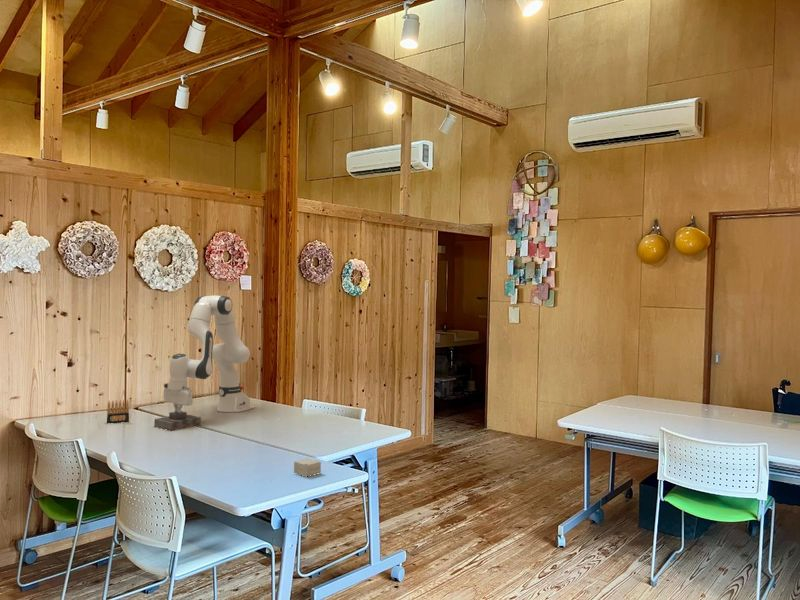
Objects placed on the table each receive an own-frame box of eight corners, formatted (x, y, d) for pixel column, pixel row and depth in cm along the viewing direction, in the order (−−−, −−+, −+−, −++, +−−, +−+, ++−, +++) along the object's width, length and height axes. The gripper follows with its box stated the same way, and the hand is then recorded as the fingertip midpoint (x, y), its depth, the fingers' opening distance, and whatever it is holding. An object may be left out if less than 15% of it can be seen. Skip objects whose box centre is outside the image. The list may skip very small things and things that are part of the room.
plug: (179, 421, 332) (180, 410, 332) (186, 423, 329) (186, 412, 329) (169, 423, 327) (169, 412, 327) (175, 425, 324) (175, 414, 324)
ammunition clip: (128, 421, 335) (129, 399, 335) (129, 422, 334) (129, 399, 333) (106, 423, 330) (106, 400, 329) (107, 424, 328) (107, 401, 328)
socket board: (184, 421, 339) (184, 412, 339) (200, 425, 331) (200, 416, 331) (154, 426, 325) (154, 417, 325) (170, 431, 317) (170, 421, 316)
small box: (308, 469, 258) (308, 457, 258) (321, 474, 253) (321, 461, 253) (293, 473, 252) (293, 461, 252) (306, 478, 247) (306, 465, 247)
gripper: (196, 387, 324) (195, 413, 324) (172, 382, 336) (171, 408, 336) (185, 388, 319) (184, 415, 319) (161, 384, 331) (161, 410, 331)
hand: (177, 412), depth 328 cm, fingers closed
